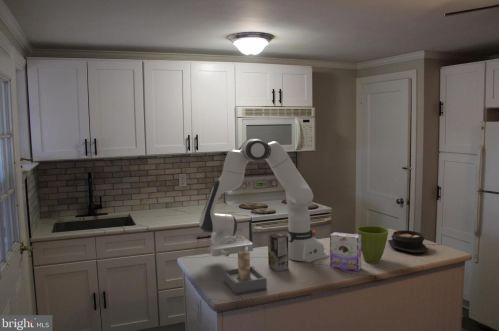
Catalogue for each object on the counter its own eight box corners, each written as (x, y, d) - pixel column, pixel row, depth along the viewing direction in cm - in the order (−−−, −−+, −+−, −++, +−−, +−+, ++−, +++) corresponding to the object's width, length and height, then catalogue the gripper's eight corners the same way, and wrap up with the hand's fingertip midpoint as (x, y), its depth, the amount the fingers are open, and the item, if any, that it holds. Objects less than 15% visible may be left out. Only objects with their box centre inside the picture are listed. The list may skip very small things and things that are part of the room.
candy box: (361, 268, 196) (361, 234, 195) (358, 272, 191) (358, 237, 190) (333, 263, 203) (333, 231, 202) (329, 267, 198) (329, 234, 197)
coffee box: (289, 269, 197) (288, 236, 196) (278, 271, 194) (277, 238, 192) (278, 263, 205) (278, 232, 203) (267, 266, 202) (267, 234, 200)
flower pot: (374, 254, 216) (374, 224, 215) (394, 262, 203) (395, 231, 201) (351, 258, 210) (351, 227, 209) (369, 267, 197) (370, 234, 195)
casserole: (379, 244, 234) (379, 229, 233) (408, 241, 239) (408, 226, 238) (406, 257, 210) (407, 241, 209) (437, 253, 215) (438, 238, 214)
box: (252, 276, 188) (252, 266, 188) (266, 289, 173) (266, 278, 173) (223, 281, 183) (223, 270, 183) (235, 295, 168) (235, 283, 168)
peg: (247, 281, 181) (246, 250, 179) (250, 284, 177) (249, 252, 176) (238, 282, 179) (237, 251, 178) (241, 285, 176) (240, 253, 174)
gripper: (206, 241, 194) (214, 249, 181) (246, 236, 201) (257, 243, 188) (206, 254, 194) (215, 263, 181) (246, 248, 202) (257, 256, 189)
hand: (237, 253), depth 185 cm, fingers open, 8 cm apart
